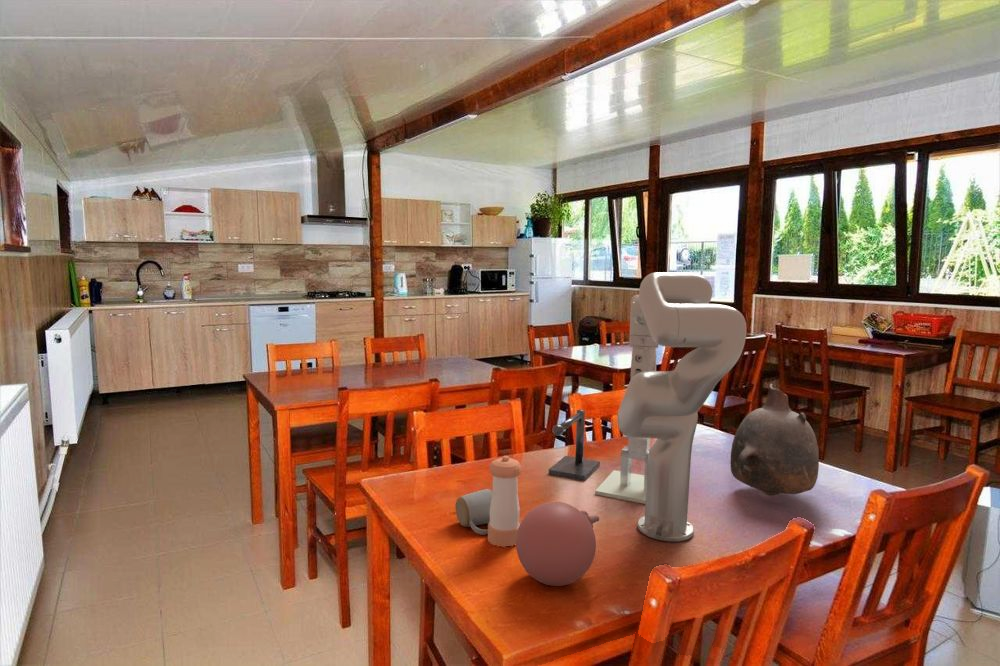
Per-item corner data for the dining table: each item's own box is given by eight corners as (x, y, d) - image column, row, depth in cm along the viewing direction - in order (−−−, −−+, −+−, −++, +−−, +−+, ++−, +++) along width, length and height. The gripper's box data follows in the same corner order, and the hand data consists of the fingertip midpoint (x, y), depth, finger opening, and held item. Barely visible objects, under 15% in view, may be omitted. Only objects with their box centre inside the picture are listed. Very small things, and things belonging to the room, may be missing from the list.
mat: (663, 507, 156) (663, 503, 156) (595, 494, 164) (595, 490, 163) (676, 484, 172) (676, 480, 172) (613, 473, 180) (613, 470, 180)
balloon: (627, 578, 121) (630, 503, 119) (551, 612, 109) (554, 529, 107) (573, 547, 133) (575, 479, 131) (499, 575, 121) (500, 501, 119)
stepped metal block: (651, 491, 164) (653, 440, 162) (619, 485, 168) (622, 435, 166) (654, 486, 167) (657, 436, 166) (623, 480, 171) (625, 431, 169)
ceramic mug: (453, 520, 146) (453, 489, 145) (484, 514, 150) (484, 484, 149) (472, 539, 137) (473, 507, 136) (505, 532, 141) (505, 500, 140)
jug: (810, 521, 149) (820, 400, 145) (718, 501, 160) (726, 388, 157) (820, 490, 169) (829, 383, 166) (738, 474, 181) (745, 373, 177)
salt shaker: (498, 529, 142) (500, 449, 139) (526, 537, 138) (528, 454, 136) (481, 541, 136) (482, 457, 133) (510, 550, 132) (511, 464, 129)
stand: (573, 492, 165) (575, 428, 162) (535, 485, 169) (537, 423, 167) (599, 466, 186) (601, 409, 183) (565, 460, 190) (567, 405, 188)
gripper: (650, 346, 153) (648, 413, 155) (664, 339, 169) (662, 400, 170) (621, 343, 156) (618, 410, 158) (637, 337, 172) (635, 397, 174)
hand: (641, 405), depth 164 cm, fingers open, 9 cm apart
